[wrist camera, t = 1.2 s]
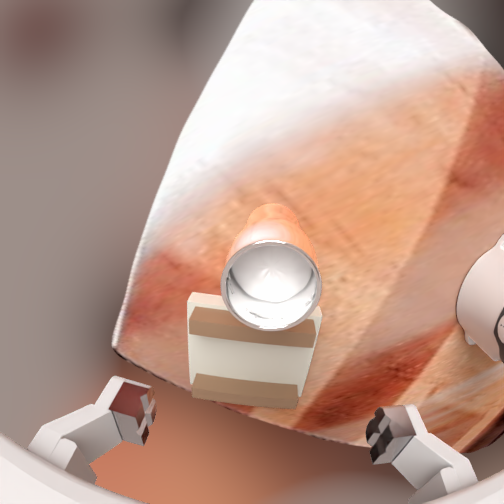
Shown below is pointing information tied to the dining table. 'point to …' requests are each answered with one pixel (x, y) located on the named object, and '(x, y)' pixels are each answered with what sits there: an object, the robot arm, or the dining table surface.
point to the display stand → (246, 356)
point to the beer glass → (271, 271)
